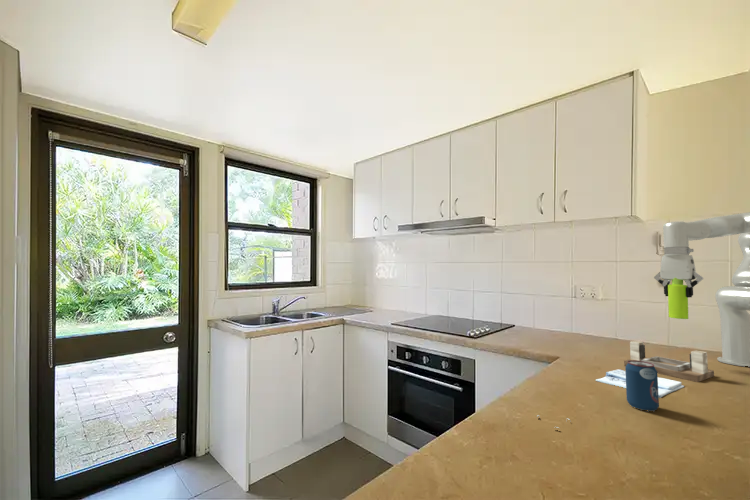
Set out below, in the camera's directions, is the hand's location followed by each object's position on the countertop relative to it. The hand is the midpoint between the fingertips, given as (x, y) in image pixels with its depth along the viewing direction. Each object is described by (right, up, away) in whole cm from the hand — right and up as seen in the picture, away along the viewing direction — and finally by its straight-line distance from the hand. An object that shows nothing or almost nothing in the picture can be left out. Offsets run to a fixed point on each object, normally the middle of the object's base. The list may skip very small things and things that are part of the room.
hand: (678, 296), depth 134 cm
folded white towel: (-35, -27, -23) cm, 49 cm away
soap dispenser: (0, -9, -1) cm, 9 cm away
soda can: (-49, -25, -43) cm, 69 cm away
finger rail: (-12, -27, -8) cm, 31 cm away
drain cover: (-78, -24, -53) cm, 98 cm away
